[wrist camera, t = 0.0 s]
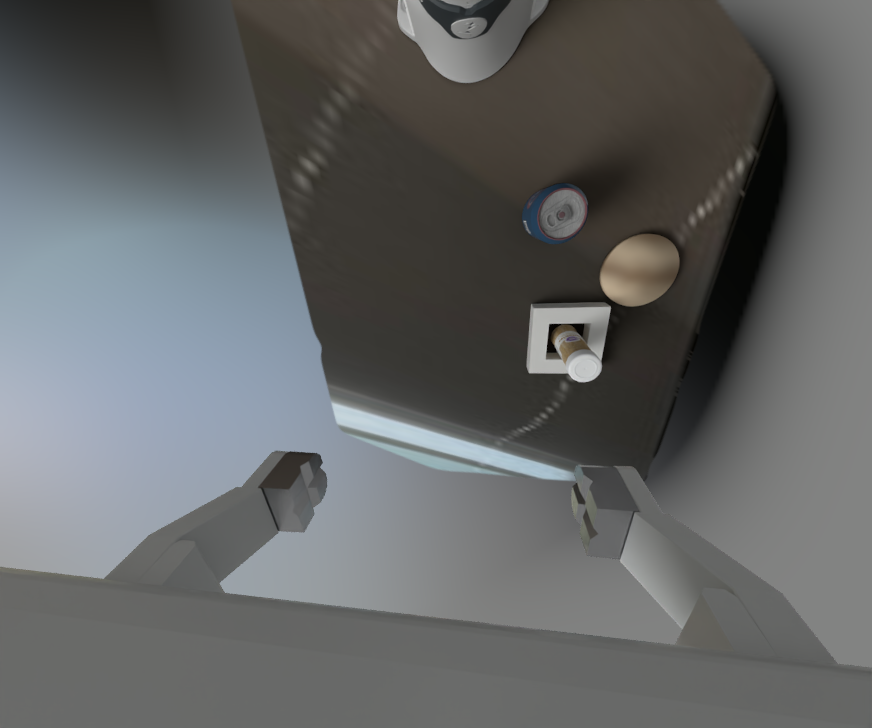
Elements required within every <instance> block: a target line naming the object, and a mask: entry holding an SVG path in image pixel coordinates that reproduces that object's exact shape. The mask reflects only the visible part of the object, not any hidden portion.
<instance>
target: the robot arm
mask: <svg viewBox="0 0 872 728" xmlns="http://www.w3.org/2000/svg"><path fill="white" fill-rule="evenodd" d="M548 1H549V0H398V13H397V18H398V23H399V27H400V29H401V30H402V32H403V33H404V34H406V35H407V36H408V37H409V38H411V39H412V40H414V41H415V42H417V43H418V45H419V46H420V48H421V49H422V51H423V52H424V54H425V56H426V58H427V59H428V61H429V62H430V63H431V65H432V66H433V67H434V68H435V69H436V70H437V71H438V72H439V73H440V74H442V75H443V76H445V77H446V78H448V79H450V80H453V81H456V82H461V83H472V82H477V81H481V80H483V79H486V78H488V77H490V76H491V75H493V74H494V73H496V72H497V71H498V70H499V69H501V68H502V67H503V66H504V65H505V64H506V62H507V61H508V60H509V59H510V57H511V56H512V55H513V53H514V52H515V50H516V48H517V47H518V45H519V43H520V41H521V39H522V37H523V35H524V33H525V31H526V30H527V28H528V27H529V26H530V25H531V24H532V23H533V22H534V21H535V20H536V19H537V18H538V17H539V16H540V15H541V14H542V13H543V12H544V10H545V9H546V7H547V5H548ZM405 8H406V9H405ZM322 463H323V462H322V459H321V456H320V455H319V454H317V453H305V452H291V451H290V452H285V451H275V452H272V453H271V454H270V455H269V456H268V457H267V459H266V460H265V461H264V462H263V463H262V464H261V465H260V467H259V468H258V469H257V470H256V471H255V472H254V473H253V474H252V476H251V477H250V478H249V479H248V480H247V481H246V482H245V484H244V485H243V486H242V487H236V488H234V489H233V490H230V491H229V492H227V493H225V494H223V495H221V496H220V497H218V498H216V499H214V500H212V501H211V502H209V503H207V504H205V505H203V506H201V507H199V508H198V509H196V510H194V511H192V512H190V513H189V514H187V515H185V516H183V517H181V518H179V519H178V520H176V521H174V522H172V523H170V524H168V525H167V526H165V527H163V528H161V529H159V530H157V531H156V532H154V533H152V534H150V535H149V536H148V537H147V538H146V539H145V540H144V541H143V542H141V543H140V544H139V545H138V546H137V547H136V548H135V549H134V550H133V551H132V552H131V553H130V554H129V555H128V556H127V557H126V558H125V559H124V560H123V561H122V562H121V563H120V564H119V565H118V566H117V567H116V568H115V569H114V570H113V571H111V572H110V573H109V574H108V575H107V576H106V577H105V578H104V579H99V578H91V577H83V576H73V575H65V574H57V573H48V572H39V571H31V570H22V569H13V568H5V567H0V728H872V668H870V667H861V666H853V665H844V664H838V663H837V662H836V661H835V660H834V658H833V657H832V656H831V655H830V653H829V652H828V651H827V650H826V648H825V647H824V646H823V645H822V643H821V642H820V641H819V640H818V638H817V637H816V636H815V635H814V633H813V632H812V631H811V629H810V628H809V627H808V626H807V624H806V623H805V622H804V621H803V619H802V618H801V617H800V615H799V614H798V613H797V612H796V611H795V609H794V608H793V607H792V605H791V604H790V603H789V602H788V600H787V599H786V598H785V597H784V595H783V594H782V593H781V592H779V591H778V590H776V589H775V588H774V587H772V586H771V585H769V584H768V583H767V582H765V581H764V580H762V579H761V578H759V577H758V576H756V575H755V574H754V573H752V572H751V571H749V570H748V569H747V568H745V567H744V566H742V565H741V564H740V563H738V562H737V561H735V560H734V559H732V558H731V557H730V556H728V555H727V554H725V553H724V552H722V551H721V550H719V549H718V548H716V547H715V546H714V545H712V544H711V543H709V542H708V541H707V540H705V539H704V538H702V537H701V536H699V535H698V534H697V533H695V532H694V531H692V530H691V529H689V528H688V527H687V526H685V525H684V524H682V523H681V522H680V521H678V520H677V519H675V518H674V517H672V516H671V515H669V514H663V513H662V511H661V509H660V508H659V506H658V504H657V503H656V501H655V500H654V498H653V496H652V495H651V493H650V492H649V490H648V488H647V487H646V485H645V484H644V482H643V480H642V479H641V477H640V475H639V474H638V472H637V471H636V469H635V468H633V467H629V466H593V465H577V467H576V468H575V474H574V476H575V478H576V481H577V483H575V484H574V485H573V486H572V492H571V502H572V509H573V513H574V517H575V520H577V521H578V522H579V523H580V524H581V529H580V536H581V539H582V542H583V546H584V548H585V552H586V555H587V556H594V557H603V558H612V559H620V562H621V563H622V564H623V565H624V566H625V567H626V568H627V569H628V570H629V572H630V573H631V574H632V575H633V576H634V577H635V578H636V579H637V580H638V581H639V582H640V584H641V585H642V586H643V587H644V588H645V589H646V590H647V591H648V592H649V593H650V595H651V596H652V597H653V598H654V599H655V600H656V601H657V602H658V603H659V604H660V605H661V607H662V608H663V609H664V610H665V611H666V612H667V613H668V614H669V615H670V616H671V617H672V619H673V620H674V621H675V622H676V623H677V624H678V625H679V626H680V627H681V629H682V632H681V634H680V636H679V638H678V639H677V642H676V644H675V645H670V644H662V643H654V642H645V641H636V640H627V639H619V638H610V637H602V636H593V635H584V634H576V633H567V632H558V631H550V630H540V629H532V628H524V627H514V626H506V625H498V624H489V623H480V622H472V621H463V620H454V619H445V618H436V617H428V616H420V615H419V616H418V615H411V614H401V613H393V612H385V611H376V610H367V609H358V608H349V607H341V606H332V605H324V604H315V603H306V602H298V601H289V600H281V599H272V598H263V597H254V596H246V595H237V594H229V593H225V592H224V591H223V589H222V587H221V586H220V584H219V583H220V582H221V581H222V580H223V579H224V578H226V577H227V576H228V575H229V574H230V573H231V572H233V571H234V570H235V569H236V568H237V567H239V566H240V565H241V564H242V563H243V562H244V561H246V560H247V559H248V558H249V557H250V556H252V555H253V554H254V553H255V552H256V551H257V550H259V549H260V548H261V547H262V546H263V545H265V544H266V543H267V542H268V541H269V540H270V539H272V538H273V537H274V536H275V535H276V534H278V531H286V532H305V530H306V528H307V526H308V524H309V523H310V521H311V519H312V517H313V516H314V510H313V507H315V506H316V505H318V504H319V503H320V502H321V501H322V499H323V497H324V495H325V492H326V488H327V477H326V473H325V472H324V471H323V470H322V469H321V468H320V466H321V464H322Z"/></svg>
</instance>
